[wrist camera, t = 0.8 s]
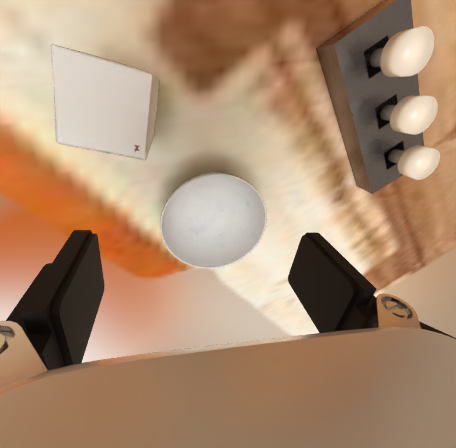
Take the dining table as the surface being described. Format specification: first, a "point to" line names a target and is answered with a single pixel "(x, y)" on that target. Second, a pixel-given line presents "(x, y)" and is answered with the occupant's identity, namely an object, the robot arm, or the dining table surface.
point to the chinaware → (213, 220)
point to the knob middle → (411, 114)
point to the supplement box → (103, 104)
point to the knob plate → (369, 92)
